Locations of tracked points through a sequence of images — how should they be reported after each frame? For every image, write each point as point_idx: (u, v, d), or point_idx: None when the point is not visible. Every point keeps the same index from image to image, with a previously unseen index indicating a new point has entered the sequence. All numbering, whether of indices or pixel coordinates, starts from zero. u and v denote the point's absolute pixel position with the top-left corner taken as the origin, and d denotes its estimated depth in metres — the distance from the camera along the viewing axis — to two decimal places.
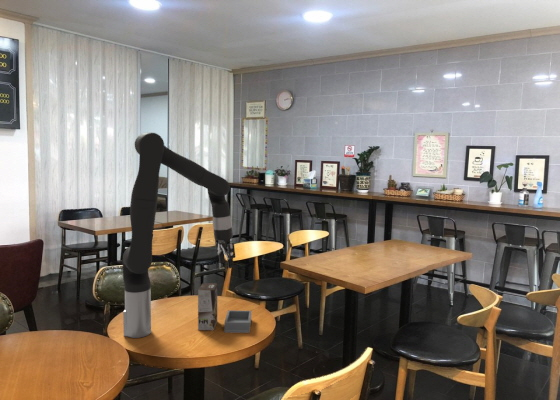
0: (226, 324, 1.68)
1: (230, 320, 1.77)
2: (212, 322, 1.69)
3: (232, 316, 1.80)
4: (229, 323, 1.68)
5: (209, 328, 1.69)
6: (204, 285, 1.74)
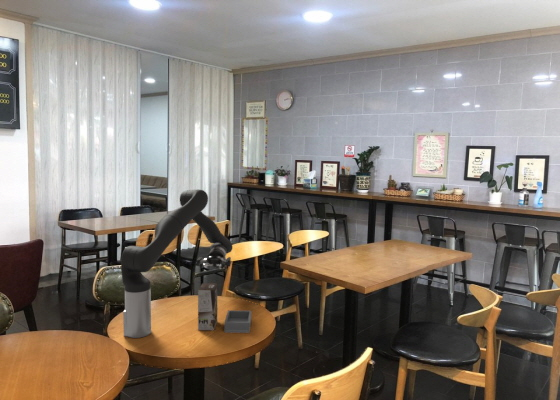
0: (226, 324, 1.68)
1: (230, 320, 1.77)
2: (212, 322, 1.69)
3: (232, 316, 1.80)
4: (229, 323, 1.68)
5: (209, 328, 1.69)
6: (204, 285, 1.74)
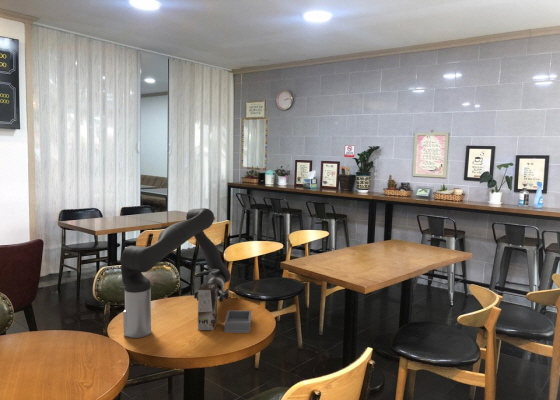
0: (226, 324, 1.68)
1: (230, 320, 1.77)
2: (212, 322, 1.69)
3: (232, 316, 1.80)
4: (229, 323, 1.68)
5: (209, 328, 1.69)
6: (204, 285, 1.74)
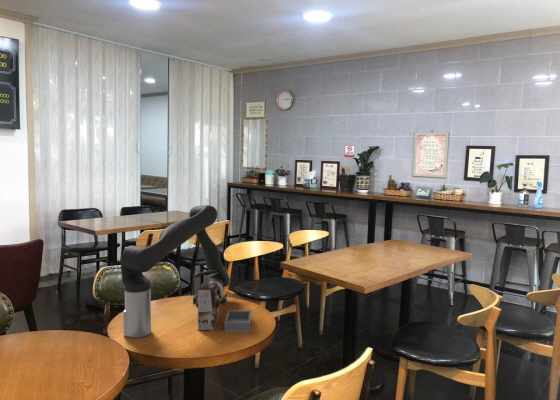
0: (226, 324, 1.68)
1: (230, 320, 1.77)
2: (212, 322, 1.69)
3: (232, 316, 1.80)
4: (229, 323, 1.68)
5: (209, 328, 1.69)
6: (204, 285, 1.74)
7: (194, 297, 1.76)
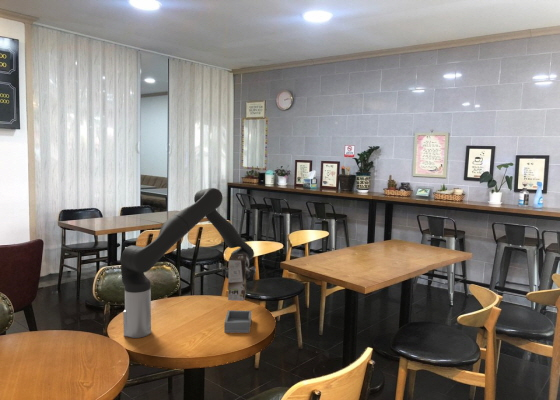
0: (226, 324, 1.68)
1: (230, 320, 1.77)
2: (242, 292, 1.69)
3: (232, 316, 1.80)
4: (229, 323, 1.68)
5: (239, 299, 1.69)
6: (234, 256, 1.73)
7: (223, 268, 1.75)
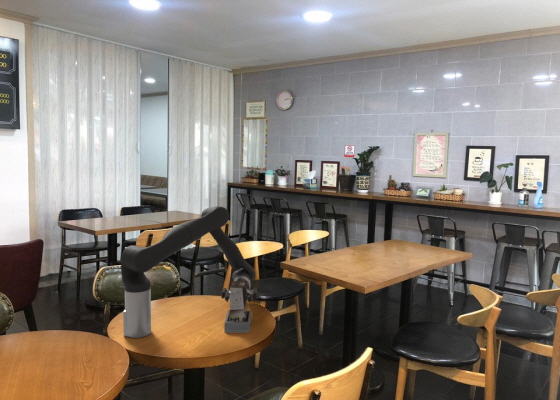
0: (226, 324, 1.68)
1: None
2: (243, 320, 1.70)
3: None
4: (229, 323, 1.68)
5: None
6: (235, 283, 1.74)
7: (223, 291, 1.77)
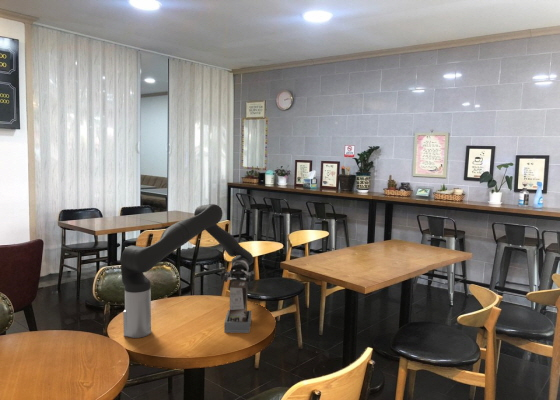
0: (226, 324, 1.68)
1: None
2: (243, 320, 1.70)
3: None
4: (229, 323, 1.68)
5: None
6: (235, 283, 1.74)
7: (222, 272, 1.85)
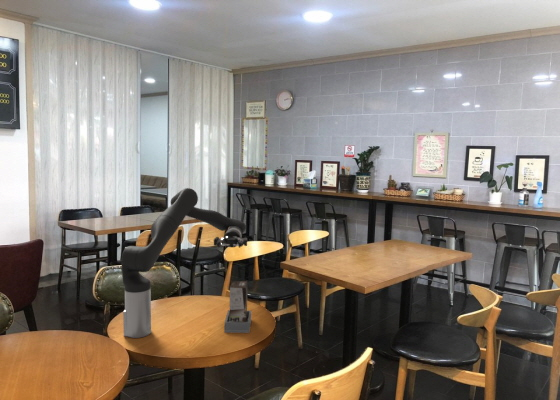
0: (226, 324, 1.68)
1: None
2: (243, 320, 1.70)
3: None
4: (229, 323, 1.68)
5: None
6: (235, 283, 1.74)
7: (215, 239, 1.88)
